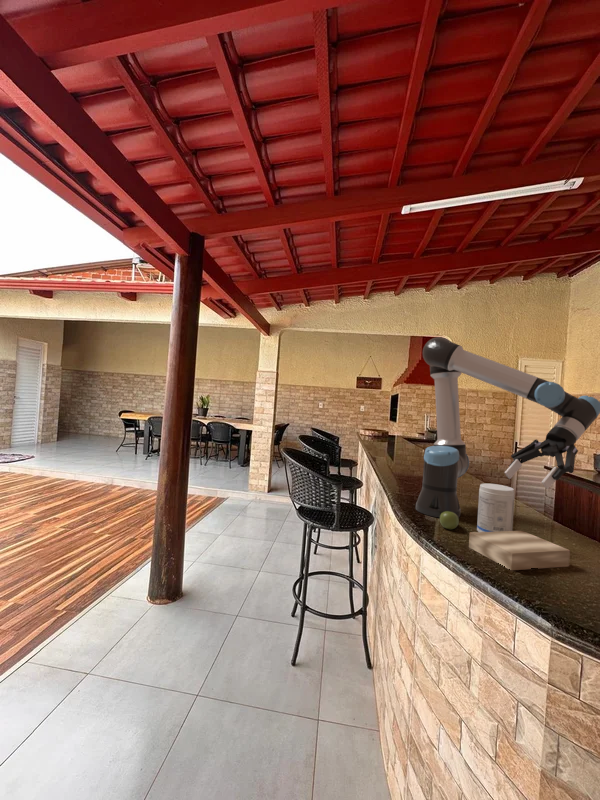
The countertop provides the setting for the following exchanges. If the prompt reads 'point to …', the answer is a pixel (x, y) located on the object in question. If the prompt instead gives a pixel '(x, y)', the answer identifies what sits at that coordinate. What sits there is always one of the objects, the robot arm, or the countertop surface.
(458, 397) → the robot arm
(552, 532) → the countertop surface
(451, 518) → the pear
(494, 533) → the wooden riser
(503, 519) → the supplement tub
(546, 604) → the countertop surface
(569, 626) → the countertop surface
